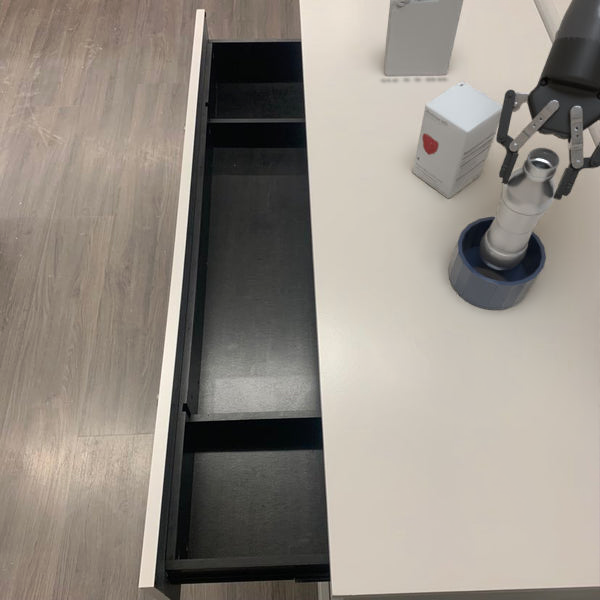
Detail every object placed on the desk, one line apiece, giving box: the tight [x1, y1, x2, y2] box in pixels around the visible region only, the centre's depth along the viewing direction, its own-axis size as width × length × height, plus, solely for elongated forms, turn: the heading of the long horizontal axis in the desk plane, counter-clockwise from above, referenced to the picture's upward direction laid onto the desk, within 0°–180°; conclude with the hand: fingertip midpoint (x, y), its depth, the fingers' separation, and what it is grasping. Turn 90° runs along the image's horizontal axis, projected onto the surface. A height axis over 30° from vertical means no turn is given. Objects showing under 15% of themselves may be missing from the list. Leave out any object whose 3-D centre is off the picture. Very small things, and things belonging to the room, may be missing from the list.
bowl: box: [448, 216, 547, 311], centre depth 80 cm, size 12×12×7 cm
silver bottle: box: [479, 147, 560, 270], centre depth 71 cm, size 6×7×20 cm
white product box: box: [412, 80, 503, 199], centre depth 89 cm, size 9×9×15 cm
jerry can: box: [383, 0, 464, 77], centre depth 100 cm, size 15×5×25 cm, turn 88°
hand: (530, 190), depth 65 cm, fingers closed on silver bottle, 5 cm apart
